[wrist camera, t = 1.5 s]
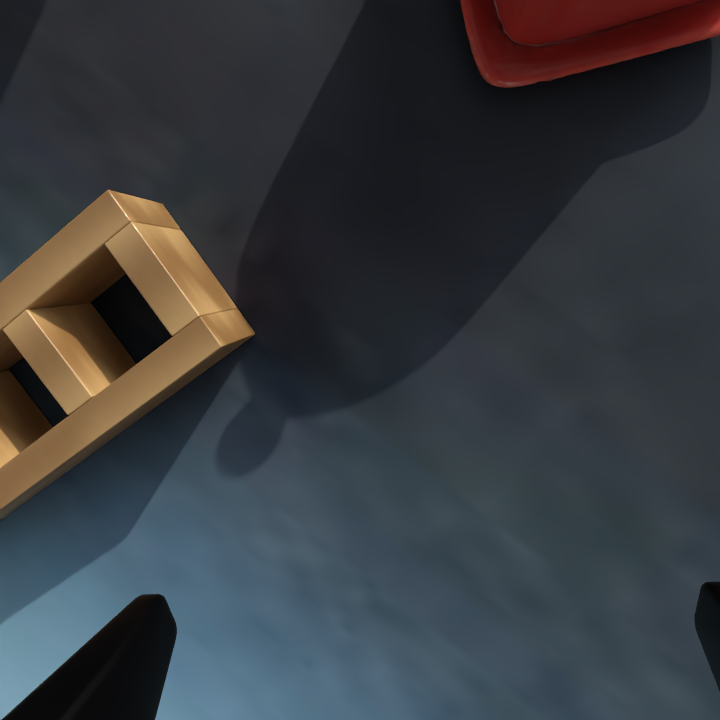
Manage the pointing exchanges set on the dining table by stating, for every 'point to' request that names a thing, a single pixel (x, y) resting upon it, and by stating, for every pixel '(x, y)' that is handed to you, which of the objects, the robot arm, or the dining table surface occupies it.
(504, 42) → the butter dish
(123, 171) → the dining table surface
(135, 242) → the tube rack
